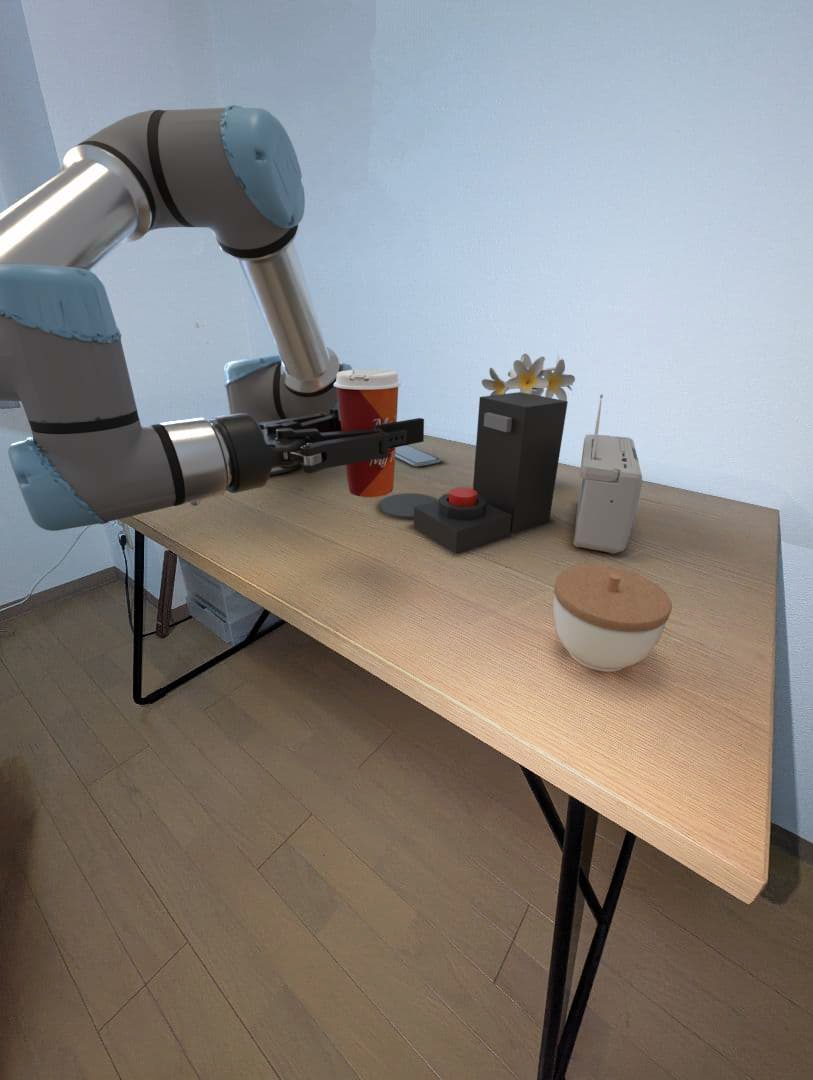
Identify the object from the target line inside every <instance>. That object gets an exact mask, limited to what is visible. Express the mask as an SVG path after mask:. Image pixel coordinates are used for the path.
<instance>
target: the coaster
mask: <svg viewBox="0 0 813 1080" xmlns="http://www.w3.org/2000/svg"><path fill="white" fill-rule="evenodd" d="M436 501H439V499H437V498H435V497H433V496H430V495H427V494H421V493H400V494H399V493H398V494H394V495H390V496H388V497H386V498H384V499H383V500H381V502H380V504H379V507H380V511H381V512H382V513H383V514H385V515H387V516H389V517H391V518H396V519H399V520H400V519H401V520H414V507H416V506H420V505H424V504H428V503H432V502H436Z"/></svg>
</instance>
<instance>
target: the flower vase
mask: <svg viewBox="0 0 813 1080" xmlns="http://www.w3.org/2000/svg"><path fill="white" fill-rule="evenodd" d="M545 360H546V357H545V356H540V357H538V358H537V359H535V361H533V363H532V360H531V357H530V355H529V354H528V353H523V354H522V355H521V356H520V359H516V360H514V361H513V365H512V367H511V368H510V370H509V371H508V372H507V376H508V377H509V379H508V380H506V381H504V380H502V379H501V378H500V377H499V375H498V374H497V373H496V371H495V369H494V368H493V367H490V368H489V372H488V373H489V376H490V379H489V378H488V379H487V378H483V379H482V380H481V384H482V386H483V388H484V389H486V390H487V391H492V392H491V393H490V395H489V396H492V395H500V394H507V393H506V392H508V391H509V390H516V389H519V392H522V393H527V394H532V395H538V396H543V394H544V392H545V394H544V397H548V398H553V397H554V395H555V396H556V398H557V399H559V400H564V401H568V395H567V392H566V390H565V389H564V388H567V389H569V391H571V392H572V391H573V388H571V386H574V383H575V381H576V377H575V376H574V375H573V374H565V371H566V363H565V359H564V358H563V357H562V358H560V356H559V353H558V352H557V354H556V363H555V367H548V368H545V369H544V363H545ZM545 388H546V389H545Z"/></svg>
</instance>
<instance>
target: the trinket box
mask: <svg viewBox="0 0 813 1080" xmlns="http://www.w3.org/2000/svg"><path fill="white" fill-rule="evenodd" d="M672 609H673V605H672V601H671V598H670V596H669V594H668V593H667V592H666V591H665V590H664V589H663V588H662V587H661V586H660V585H658V584H657V583H656V582H654V581H653V580H651V579H649V578H647V577H645V576H644V575H641V574H639V573H636V572H634V571H631V570H628V569H625V568H621V567H616V566H613V565H612V566H611V565H603V564H602V565H601V564H581V565H576V566H572V567H569V568H567V569H564V570H562V572H561V573H560V574H559V575H557V577H556V579H555V583H554V595H553V603H552V618H553V619H552V620H553V627H554V630H555V634H556V636H557V637H558V640H559V641H560V644H562V646H563V647H564V649H565V650H566V651H567V652H568V654H569V655H570V657H571V658H572V659H573V660H574V661H576V662H577V663H578V664H580V665H581V666H583V667H584V668H588V669H590V670H592V671H597V672H602V673H613V672H618V671H621V670H623V669H625V668H628V667H633V666H634V665H636V664H638V663H640V662H642V661H643V660H644V659H646V658H647V657H648V656H649V655H650V654H651V653H652V652H653V650H654V648H655V647H656V645H657V644H658V643H659V641H660V638H661V637H662V634H663V632H664V629H665V626H666V623H667V621H668V620H669V618H670V615H671V613H672Z"/></svg>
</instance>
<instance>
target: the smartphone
mask: <svg viewBox="0 0 813 1080" xmlns="http://www.w3.org/2000/svg"><path fill="white" fill-rule="evenodd" d="M395 458H397V459H399V460H401V461H403V462H404V463H407V464H409V465H411V466H413V467H416V468H417V467H419V468H420V467H422V466H423V467H424V466H429V465H434V464H439V463H441V458H440V457H438V456H436V455H433V454H431V453H429V452H427V451H425V450H422V449H420V448H419V447H418V448H417V447H415V446H413V445H412V444H410V445H405V446H400V447H396V448H395Z"/></svg>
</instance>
